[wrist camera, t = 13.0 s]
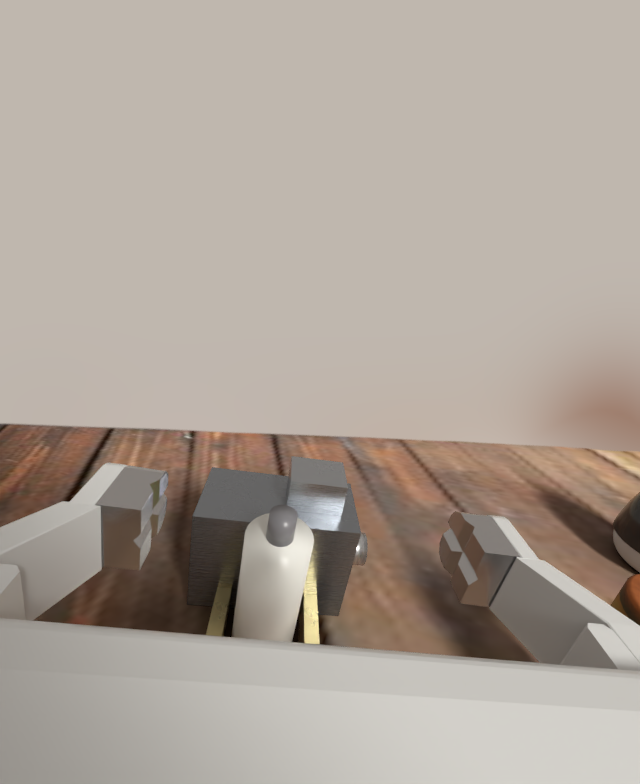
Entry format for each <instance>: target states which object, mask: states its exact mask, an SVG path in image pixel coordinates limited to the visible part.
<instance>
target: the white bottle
mask: <svg viewBox="0 0 640 784" xmlns="http://www.w3.org/2000/svg"><path fill="white" fill-rule="evenodd" d="M313 545H314V536H313V533H312V531H311V529H310V528H309V526H308V525H307V524H306V523H305V522H304V521H302V520H301V519H299V518H298V514H297V511H296V510H295V509H294V508H292V507H290V506H288V505H277V506H274V507H273V508H272V509H271V510H270V513H268V514H264V515H261V516H259V517H257V518H255V519H254V520H253V521H251V523H250V524H249V525H248V526H247V528H246V531H245V536H244V544H243V552H242V560H241V567H240V575H239V583H238V590H237V598H236V606H235V613H234V621H233V629H232V636H231V637H235V638H247V639H259V640H272V641H284V642H292V640H293V636H294V631H295V627H296V622H297V618H298V613H299V608H300V604H301V599H302V595H303V590H304V586H305V581H306V577H307V572H308V568H309V563H310V558H311V554H312V549H313Z"/></svg>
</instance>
